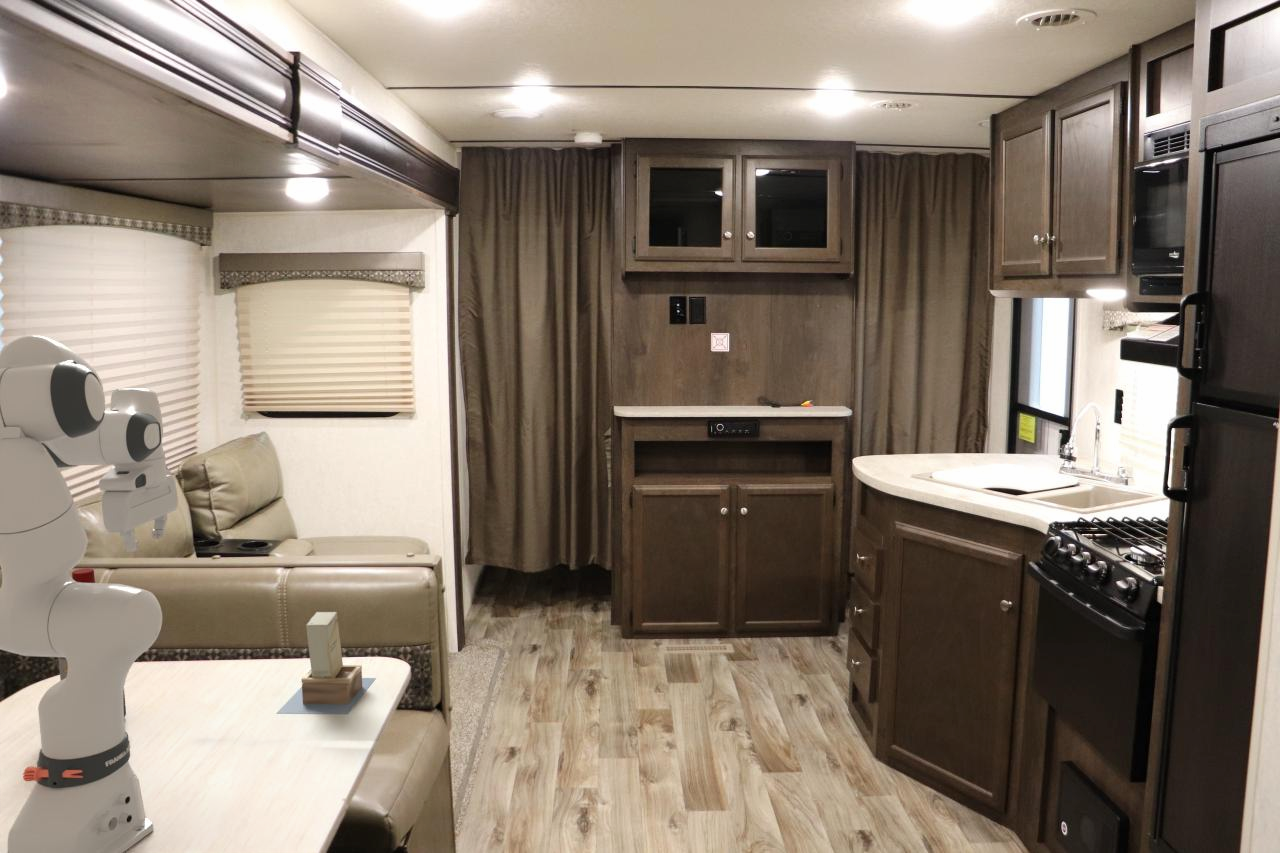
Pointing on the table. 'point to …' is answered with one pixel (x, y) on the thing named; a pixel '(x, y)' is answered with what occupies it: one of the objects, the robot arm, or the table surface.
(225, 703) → the table surface
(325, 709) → the blue board
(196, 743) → the table surface
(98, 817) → the robot arm
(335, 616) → the skincare box
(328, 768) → the table surface
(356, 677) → the walnut tray
